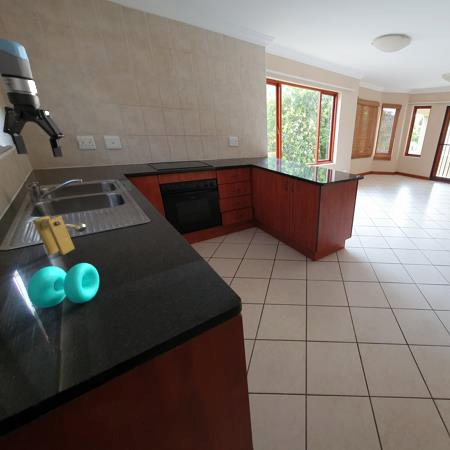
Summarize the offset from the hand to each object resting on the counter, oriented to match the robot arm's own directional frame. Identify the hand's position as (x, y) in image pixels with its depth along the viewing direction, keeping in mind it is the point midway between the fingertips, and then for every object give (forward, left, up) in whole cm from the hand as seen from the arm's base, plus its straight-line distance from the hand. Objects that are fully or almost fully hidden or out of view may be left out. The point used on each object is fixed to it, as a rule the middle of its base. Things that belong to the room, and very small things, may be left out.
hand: (40, 155), depth 91 cm
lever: (+11, -24, -23) cm, 35 cm away
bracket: (+10, -28, -31) cm, 42 cm away
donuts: (+25, -57, -31) cm, 69 cm away
